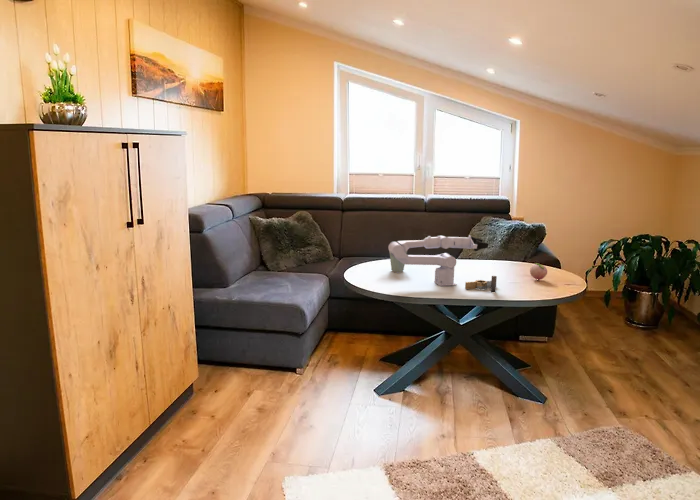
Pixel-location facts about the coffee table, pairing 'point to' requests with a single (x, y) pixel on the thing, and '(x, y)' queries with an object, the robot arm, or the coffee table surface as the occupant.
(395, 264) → the disposable coffee cup
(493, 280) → the hinge pin
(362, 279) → the coffee table surface
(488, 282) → the hinge
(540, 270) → the decorative fruit
